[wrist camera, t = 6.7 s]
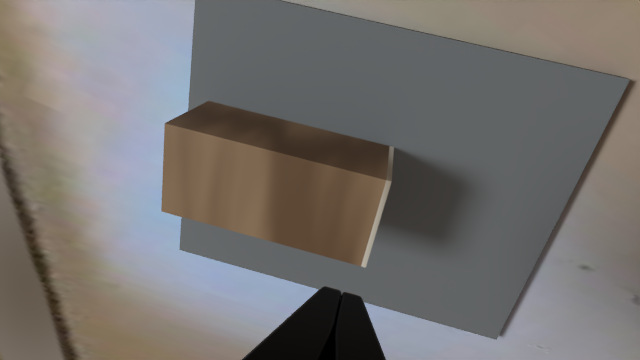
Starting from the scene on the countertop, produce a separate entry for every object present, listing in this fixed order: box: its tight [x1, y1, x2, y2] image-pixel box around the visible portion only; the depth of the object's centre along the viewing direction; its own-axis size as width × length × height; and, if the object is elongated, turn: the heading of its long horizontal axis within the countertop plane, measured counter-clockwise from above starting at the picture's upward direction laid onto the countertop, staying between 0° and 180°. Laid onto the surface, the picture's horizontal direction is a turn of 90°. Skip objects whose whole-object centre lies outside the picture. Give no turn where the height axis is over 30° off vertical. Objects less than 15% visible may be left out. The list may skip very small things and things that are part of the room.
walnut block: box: [162, 101, 394, 268], centre depth 18 cm, size 4×4×9 cm
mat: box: [180, 0, 630, 339], centre depth 20 cm, size 18×14×1 cm
